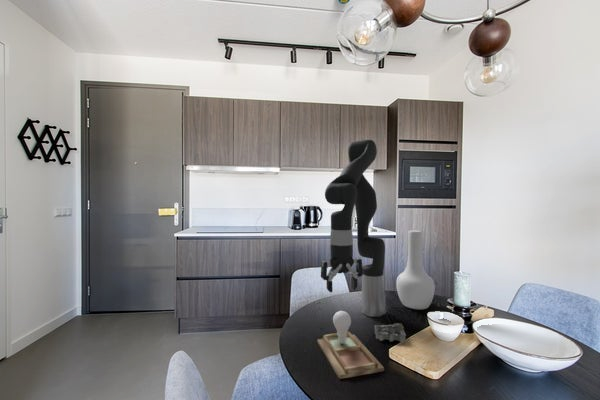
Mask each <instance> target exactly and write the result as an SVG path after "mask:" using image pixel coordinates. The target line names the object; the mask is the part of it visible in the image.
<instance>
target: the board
mask: <svg viewBox="0 0 600 400" xmlns="http://www.w3.org/2000/svg"><path fill="white" fill-rule="evenodd" d="M316 342H317V344H318V346H319V347H320V349H321V351H322V352H323V355H325V358H326V359H327V361H328V362H329V364H330V366H331V367H332V369H333V371H334V373H335V374H336V376H337V378H338V379H339V380H342V379H347V378H353V377H359V376H364V375H370V374H375V373H380V372H384V371H385V368H384V366H383V365H382V363H380V362H379V360H378V359H377V358H376V357H375V356H374V355H373V354H372V353H371V352H370V351H369V349H368V348H367V347H366V346H365V345H364V344H363V343H362V341H361V340H360V339H359V338H358V337H357V335H355V334H352V333H351V332H350V331H347V336H346V342H345V343H344V344H341V343H339V342H338V335H337V332H335V333H329V334H322V338H319V339H317V341H316Z"/></svg>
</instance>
